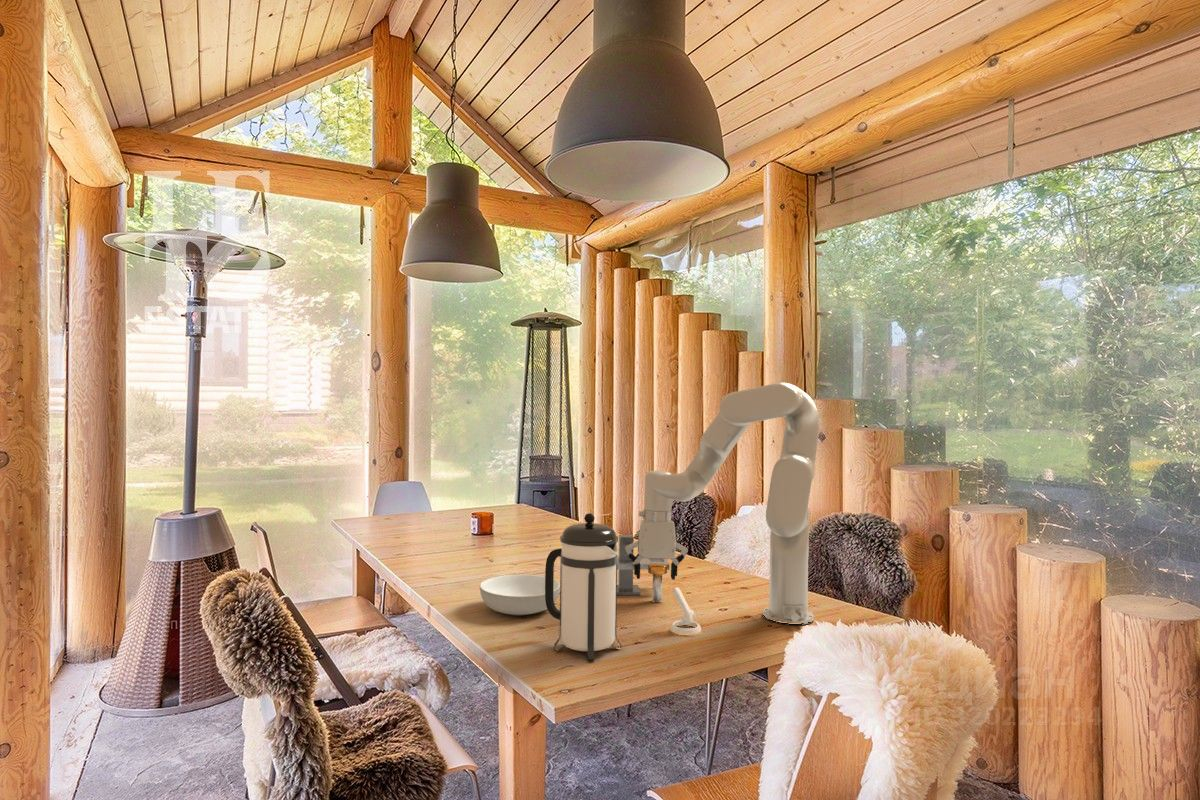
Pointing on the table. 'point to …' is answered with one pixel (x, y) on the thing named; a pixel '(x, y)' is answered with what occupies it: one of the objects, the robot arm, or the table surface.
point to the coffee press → (585, 587)
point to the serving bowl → (516, 593)
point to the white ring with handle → (684, 616)
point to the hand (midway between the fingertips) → (655, 578)
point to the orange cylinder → (657, 579)
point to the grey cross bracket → (630, 567)
